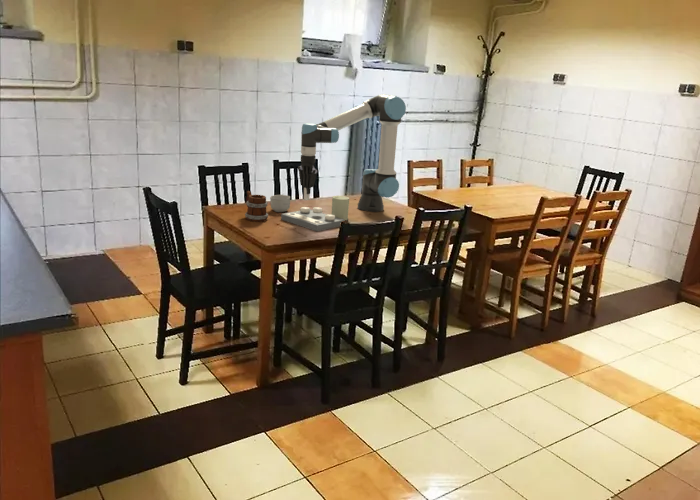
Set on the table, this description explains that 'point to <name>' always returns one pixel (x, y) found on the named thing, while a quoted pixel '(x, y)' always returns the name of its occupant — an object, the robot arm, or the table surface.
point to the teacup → (280, 203)
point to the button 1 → (305, 210)
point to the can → (340, 207)
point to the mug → (256, 208)
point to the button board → (311, 220)
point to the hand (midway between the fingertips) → (306, 199)
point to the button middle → (317, 210)
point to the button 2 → (330, 217)
